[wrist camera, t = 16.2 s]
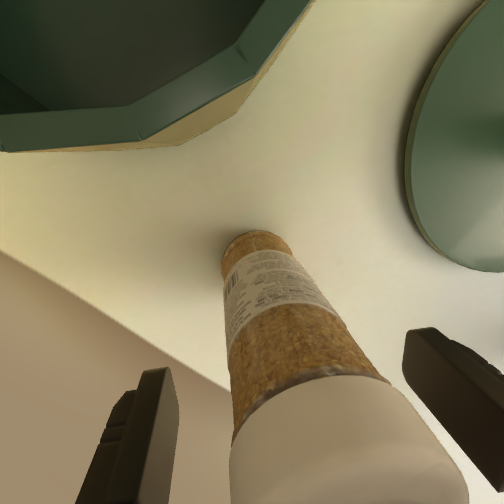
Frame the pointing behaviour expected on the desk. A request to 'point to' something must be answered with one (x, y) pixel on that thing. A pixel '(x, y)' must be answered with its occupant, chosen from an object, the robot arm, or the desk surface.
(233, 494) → the sprinkles bottle
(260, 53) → the tin
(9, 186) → the desk surface
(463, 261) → the tin lid
